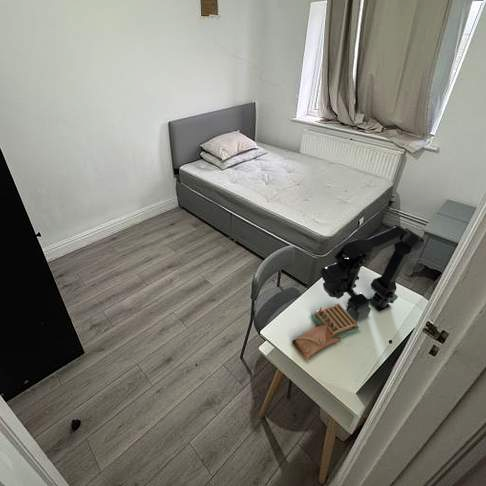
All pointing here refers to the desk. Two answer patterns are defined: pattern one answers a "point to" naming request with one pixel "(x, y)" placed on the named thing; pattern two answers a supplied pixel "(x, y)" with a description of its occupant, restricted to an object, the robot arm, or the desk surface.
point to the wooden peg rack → (336, 320)
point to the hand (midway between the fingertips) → (339, 301)
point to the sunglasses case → (314, 341)
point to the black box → (359, 313)
